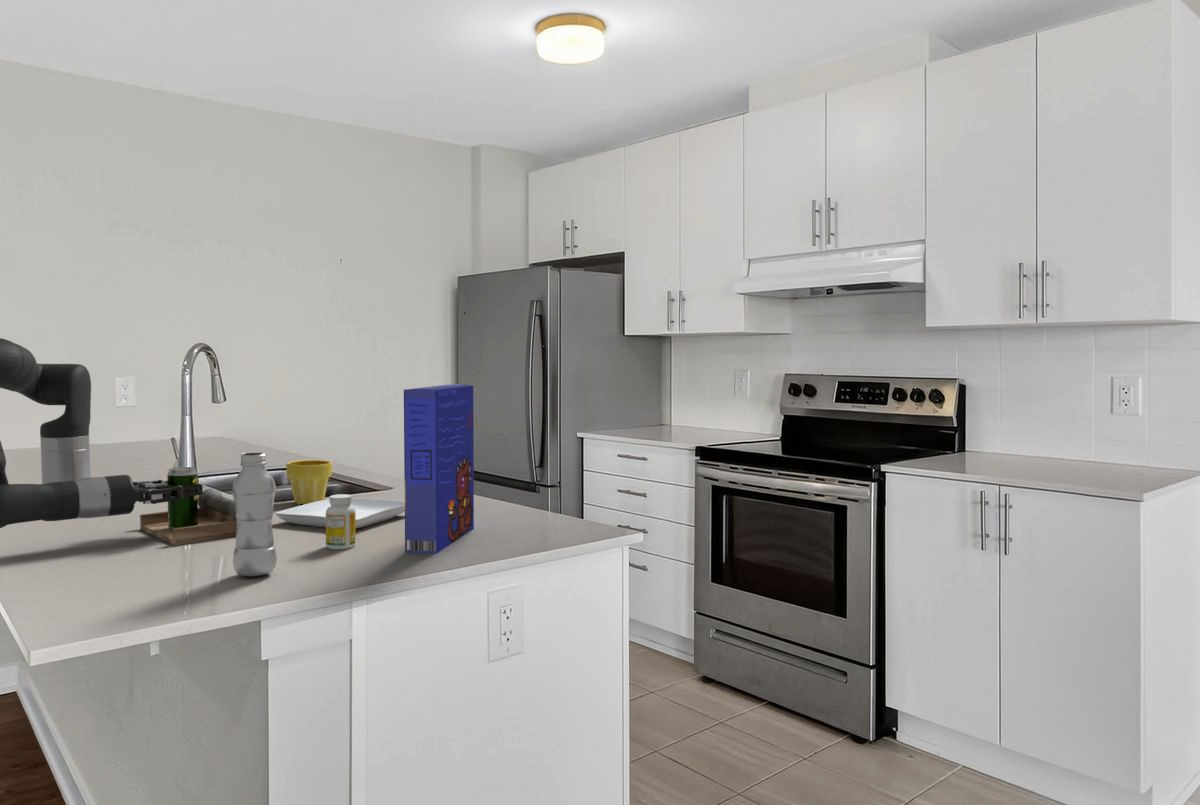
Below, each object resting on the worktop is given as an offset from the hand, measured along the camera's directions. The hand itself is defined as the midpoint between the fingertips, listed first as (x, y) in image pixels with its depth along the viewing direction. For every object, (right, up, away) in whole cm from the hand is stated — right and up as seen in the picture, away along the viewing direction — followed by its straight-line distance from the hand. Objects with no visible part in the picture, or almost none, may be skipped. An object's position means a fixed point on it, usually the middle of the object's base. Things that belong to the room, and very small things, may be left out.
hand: (195, 487), depth 171 cm
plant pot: (+12, -7, +33) cm, 36 cm away
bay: (0, -9, 0) cm, 9 cm away
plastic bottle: (+25, -11, -32) cm, 42 cm away
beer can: (-2, -8, -1) cm, 9 cm away
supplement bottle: (+33, -10, -12) cm, 36 cm away
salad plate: (+27, -9, +13) cm, 31 cm away
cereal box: (+51, -10, -5) cm, 52 cm away
